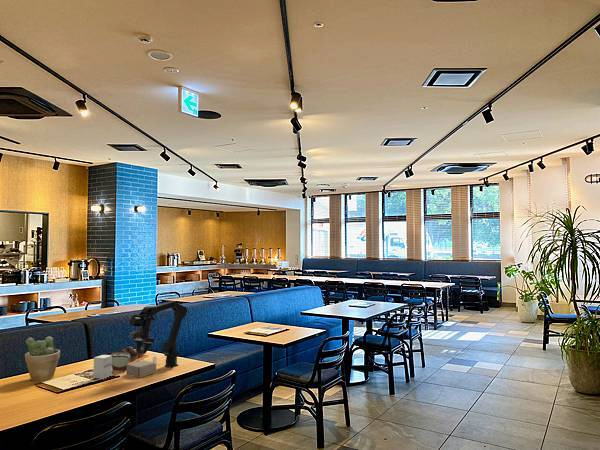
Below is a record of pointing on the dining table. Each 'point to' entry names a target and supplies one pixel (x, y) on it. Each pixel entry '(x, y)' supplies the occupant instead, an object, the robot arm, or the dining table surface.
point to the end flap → (148, 368)
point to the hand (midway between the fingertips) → (140, 352)
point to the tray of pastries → (133, 354)
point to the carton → (136, 367)
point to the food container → (120, 361)
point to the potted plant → (41, 359)
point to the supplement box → (102, 366)
